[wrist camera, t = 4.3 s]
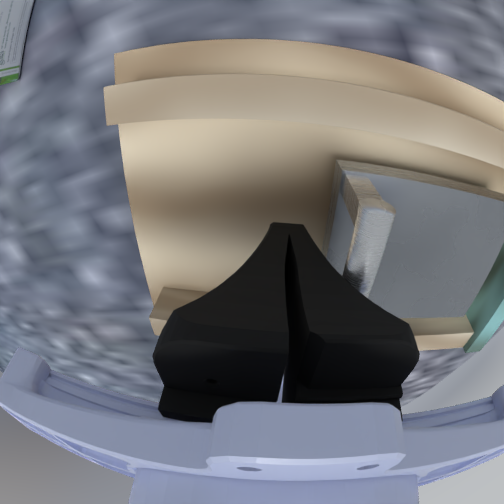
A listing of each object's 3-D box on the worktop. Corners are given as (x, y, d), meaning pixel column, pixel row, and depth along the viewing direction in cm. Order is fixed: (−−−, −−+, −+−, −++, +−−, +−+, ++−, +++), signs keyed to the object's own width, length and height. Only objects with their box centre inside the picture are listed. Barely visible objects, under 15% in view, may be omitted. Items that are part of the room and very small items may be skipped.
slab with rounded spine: (448, 286, 15) (482, 360, 10) (310, 279, 15) (316, 372, 11) (490, 182, 11) (557, 245, 6) (330, 149, 11) (364, 213, 7)
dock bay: (453, 324, 18) (469, 363, 15) (161, 309, 19) (142, 353, 16) (535, 122, 8) (578, 145, 5) (122, 53, 10) (72, 56, 7)
